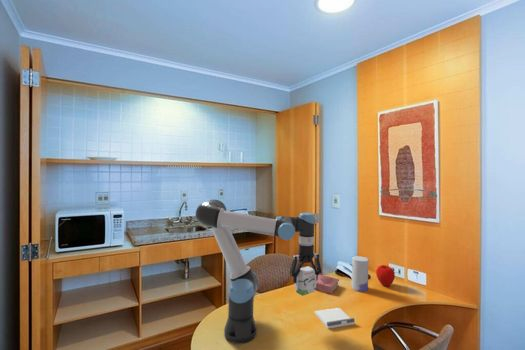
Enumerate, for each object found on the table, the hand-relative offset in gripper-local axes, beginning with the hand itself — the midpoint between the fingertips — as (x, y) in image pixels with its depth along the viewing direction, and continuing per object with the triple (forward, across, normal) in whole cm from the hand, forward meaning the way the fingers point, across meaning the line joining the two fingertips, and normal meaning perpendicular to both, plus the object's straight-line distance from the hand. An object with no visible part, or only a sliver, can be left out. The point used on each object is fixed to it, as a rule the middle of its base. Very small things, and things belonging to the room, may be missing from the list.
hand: (305, 287), depth 134 cm
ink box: (+2, 0, 0) cm, 2 cm away
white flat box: (+18, +16, -1) cm, 24 cm away
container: (+18, +52, +25) cm, 61 cm away
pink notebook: (+18, +31, +32) cm, 48 cm away
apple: (+18, +72, +24) cm, 78 cm away
